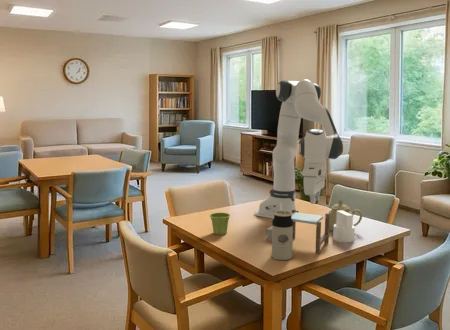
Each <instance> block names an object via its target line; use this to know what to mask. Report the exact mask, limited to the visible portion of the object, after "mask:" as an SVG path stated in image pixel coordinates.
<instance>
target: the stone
mask: <svg viewBox="0 0 450 330" xmlns="http://www.w3.org/2000/svg"><path fill="white" fill-rule="evenodd" d="M266 235H267V236H266V239H267V240H268V241H272V225H271V226H269V227H268V228H267V229H266Z"/></svg>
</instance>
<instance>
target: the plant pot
mask: <svg viewBox="0 0 450 330" xmlns="http://www.w3.org/2000/svg"><path fill="white" fill-rule="evenodd" d="M209 217H210V220H211V225H212V231H213V234H214V235H215V236H216V235H219V236H222V235H227V233H228V226H229V225H228V224H229V219H230V217H231V214H230V213H228V212H213V213H211V214H209Z"/></svg>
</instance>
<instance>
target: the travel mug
mask: <svg viewBox="0 0 450 330" xmlns="http://www.w3.org/2000/svg"><path fill="white" fill-rule="evenodd" d="M273 214H274V218H273V219H272V221H271V222H272V223H271V226H272V240H271V257H272V258H273V259H275V260H276V261H277V260H279V261H288V260H291V259H292V258H293V240H294V239H293V220H292V218H291V217H292V214H293V213H292V212H290V211H283V210H280V211H275V212H273Z"/></svg>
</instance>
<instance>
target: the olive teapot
mask: <svg viewBox="0 0 450 330" xmlns="http://www.w3.org/2000/svg"><path fill="white" fill-rule="evenodd" d="M339 210H343V211H345V212H347V213H349V214H352V215H353V216H354V215H355V212H358V214H359V218H358V221H357V222H356V223H354V224H353V226H354V227H357V226H358V225H359V224H360V223H361V222H362V219H363V213H362V211H361V210H360V209H357V208H356V209H354V210H352V211H350V207H349V206H348V205H347V204H344V201H343V198H339V200H338V203H335V204H334V205H331V209H330V210H329V211H328V213H329V214H330V219H329V232H333V230H334V224H336V216H337V211H339Z"/></svg>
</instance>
